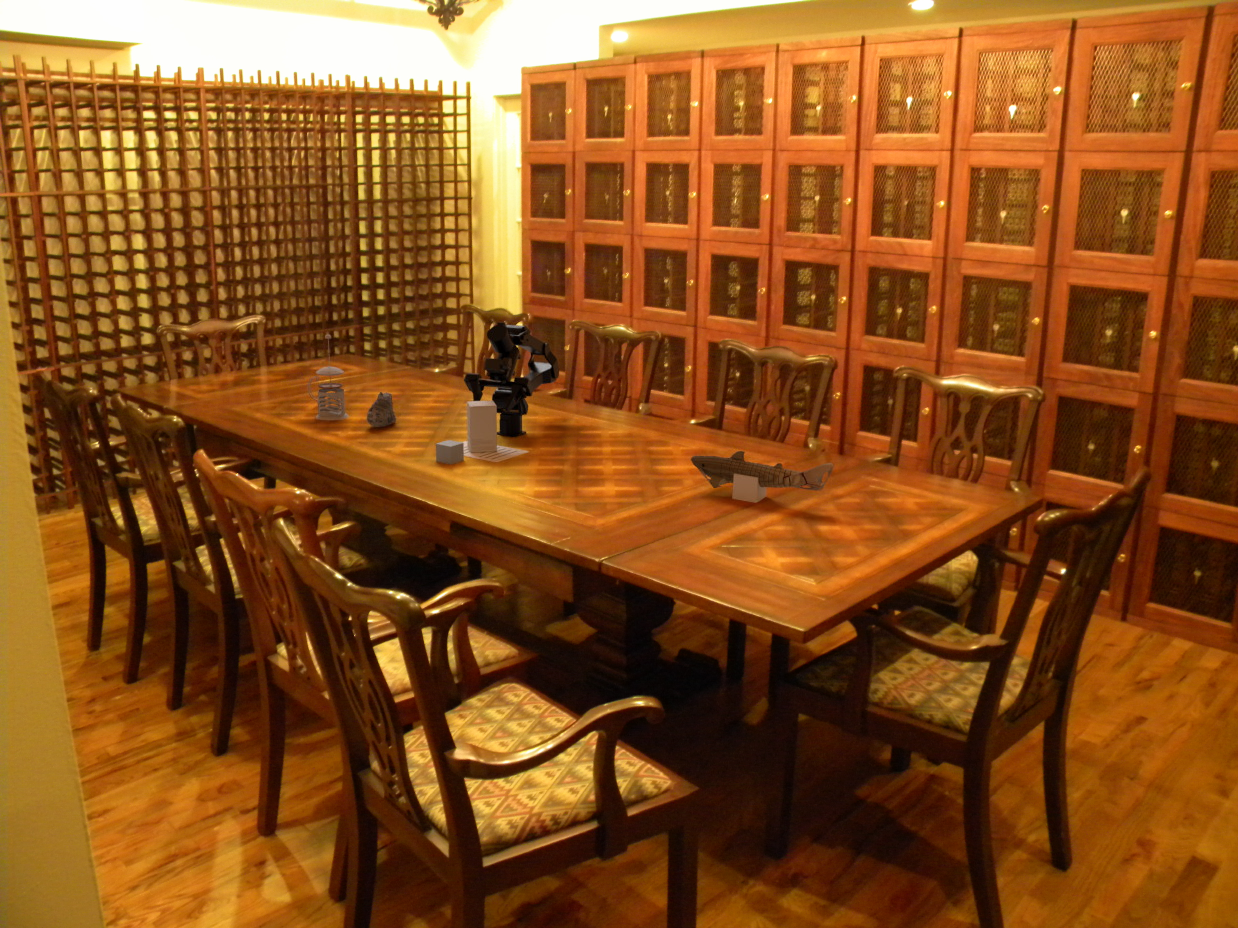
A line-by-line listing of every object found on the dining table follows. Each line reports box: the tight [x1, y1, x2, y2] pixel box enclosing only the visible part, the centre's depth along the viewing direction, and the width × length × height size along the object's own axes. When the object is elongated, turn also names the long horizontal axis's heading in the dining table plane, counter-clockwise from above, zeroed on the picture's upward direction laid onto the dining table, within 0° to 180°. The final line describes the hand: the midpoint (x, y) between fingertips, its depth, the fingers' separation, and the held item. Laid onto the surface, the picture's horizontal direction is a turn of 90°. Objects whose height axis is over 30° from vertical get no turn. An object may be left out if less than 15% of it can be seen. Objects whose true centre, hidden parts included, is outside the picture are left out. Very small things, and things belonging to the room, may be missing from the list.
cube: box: [435, 439, 465, 465], centre depth 275 cm, size 5×5×5 cm
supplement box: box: [466, 400, 498, 452], centre depth 286 cm, size 7×7×13 cm
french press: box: [307, 334, 349, 421], centre depth 318 cm, size 10×12×25 cm
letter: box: [462, 440, 530, 463], centre depth 286 cm, size 14×21×1 cm, turn 57°
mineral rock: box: [366, 391, 397, 428], centre depth 311 cm, size 13×11×10 cm
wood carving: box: [690, 450, 834, 503], centre depth 248 cm, size 9×35×11 cm, turn 61°
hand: (490, 410), depth 289 cm, fingers open, 9 cm apart
